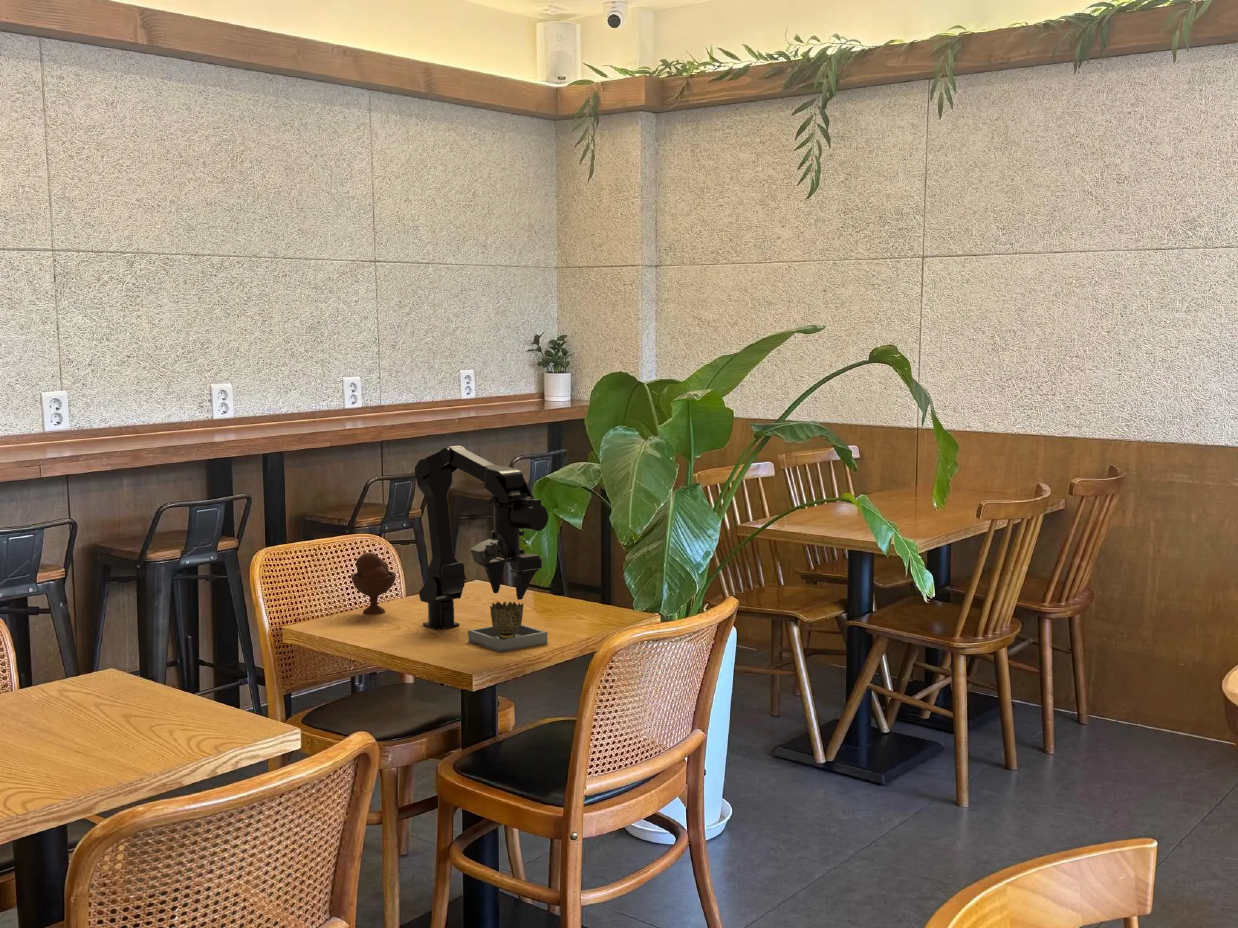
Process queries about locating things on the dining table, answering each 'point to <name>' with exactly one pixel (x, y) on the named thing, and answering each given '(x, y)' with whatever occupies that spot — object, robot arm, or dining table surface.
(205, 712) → the dining table surface
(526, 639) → the tray
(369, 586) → the ice cream bowl
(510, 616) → the cup
